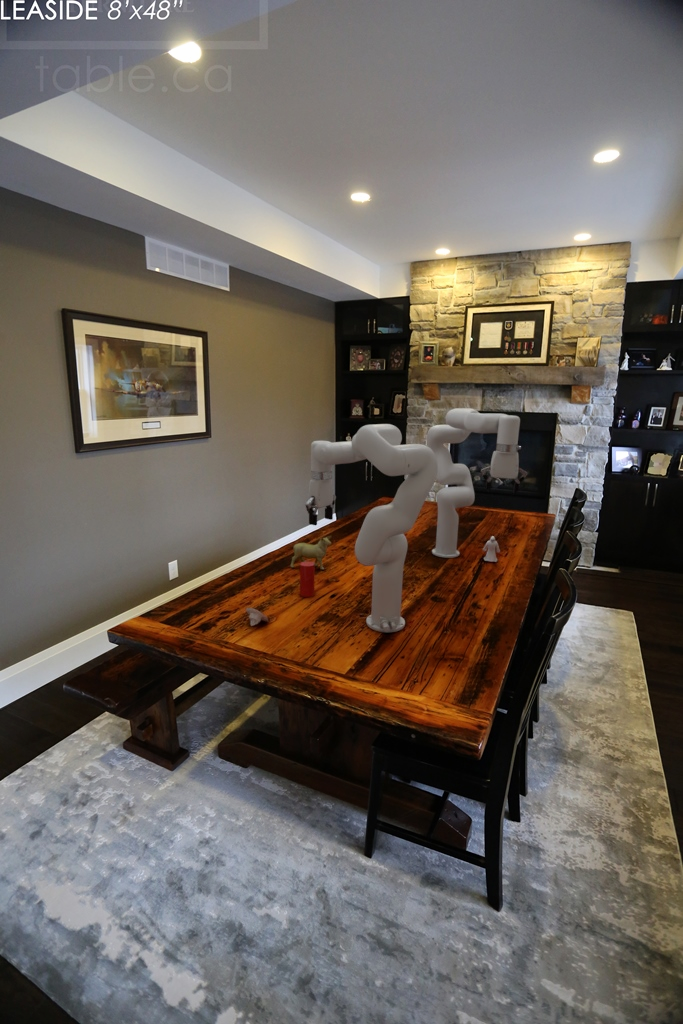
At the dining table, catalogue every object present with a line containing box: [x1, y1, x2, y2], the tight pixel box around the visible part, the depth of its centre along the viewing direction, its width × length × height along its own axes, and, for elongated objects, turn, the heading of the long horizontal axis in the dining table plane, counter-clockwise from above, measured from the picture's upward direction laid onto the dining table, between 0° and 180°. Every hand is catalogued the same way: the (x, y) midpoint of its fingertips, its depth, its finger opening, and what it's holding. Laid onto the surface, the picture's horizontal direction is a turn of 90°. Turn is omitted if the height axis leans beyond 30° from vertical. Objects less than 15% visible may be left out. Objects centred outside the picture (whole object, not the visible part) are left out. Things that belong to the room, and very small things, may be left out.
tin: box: [299, 560, 315, 598], centre depth 183 cm, size 5×5×12 cm
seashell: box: [245, 607, 269, 627], centre depth 160 cm, size 8×5×8 cm
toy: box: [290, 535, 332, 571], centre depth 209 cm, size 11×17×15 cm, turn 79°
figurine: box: [482, 535, 501, 563], centre depth 223 cm, size 8×8×12 cm
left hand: (321, 521), depth 183 cm, fingers open, 9 cm apart
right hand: (501, 492), depth 194 cm, fingers open, 9 cm apart
